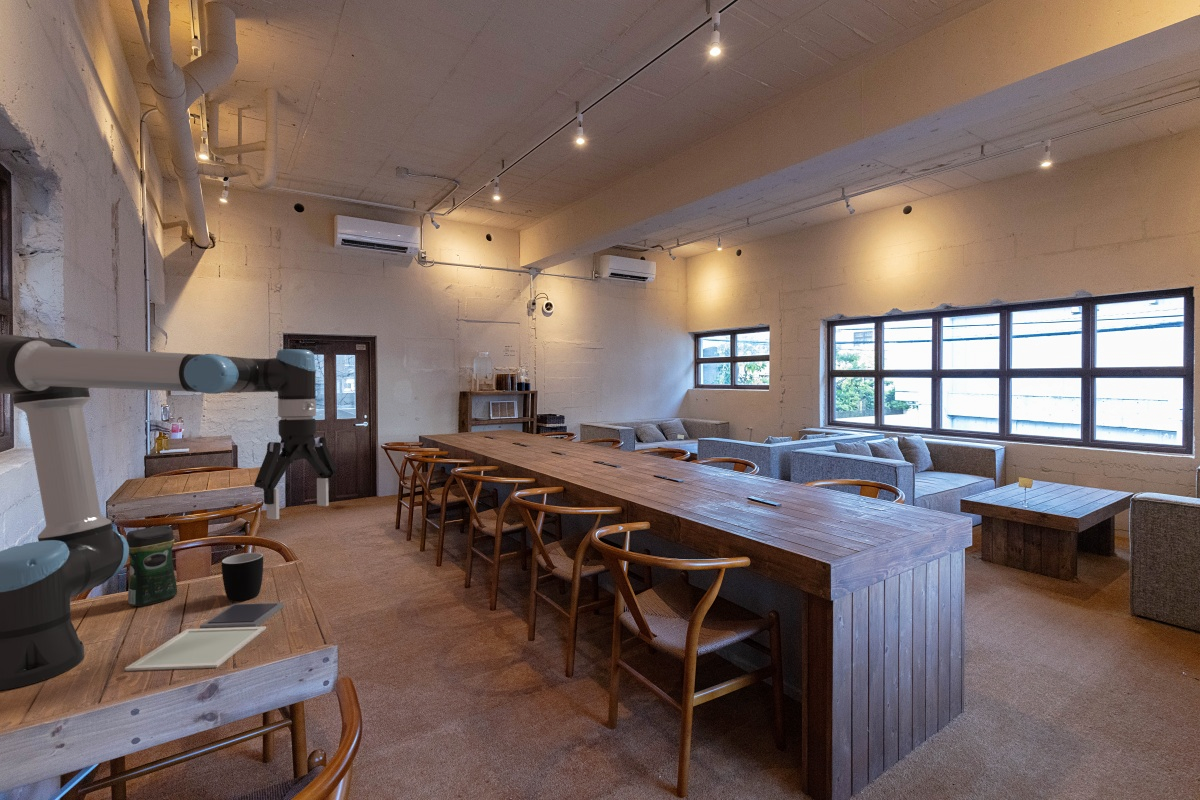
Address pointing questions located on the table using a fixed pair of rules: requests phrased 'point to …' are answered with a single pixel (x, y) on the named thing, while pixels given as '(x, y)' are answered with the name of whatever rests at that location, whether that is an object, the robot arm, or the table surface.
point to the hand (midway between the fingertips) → (299, 512)
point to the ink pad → (243, 615)
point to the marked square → (197, 649)
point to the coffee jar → (151, 565)
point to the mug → (242, 576)
